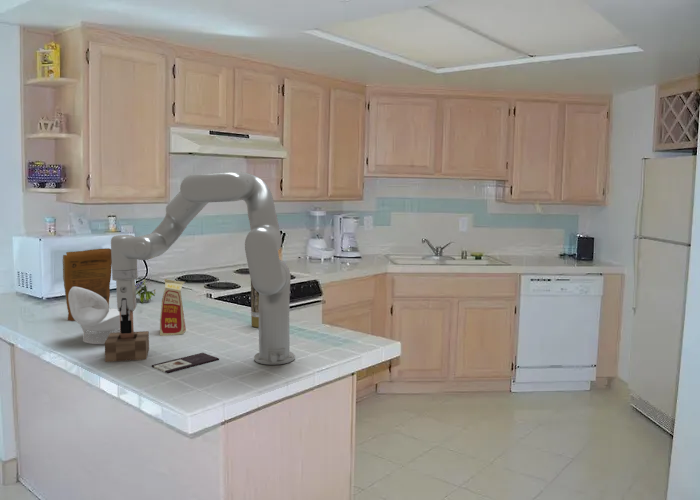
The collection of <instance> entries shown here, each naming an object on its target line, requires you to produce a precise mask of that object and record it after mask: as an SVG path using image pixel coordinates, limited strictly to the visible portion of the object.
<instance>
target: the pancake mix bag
mask: <svg viewBox="0 0 700 500" xmlns="http://www.w3.org/2000/svg"><path fill="white" fill-rule="evenodd" d="M65 253H66V254H63V255H62V279H63V287H64V293H65V301H66V303H65V304H66V307H67V313H68V314H67V321H69V322H70V321H71V322H76V321H75V320H74V318H73V316H72V314H71V311H70V307H69V300H68V294H69V291H70V289H71V288H72V287H80V288H84V289H87V290H90V291H93V292H95V293H97V294H99V295H100V296H102V297H103V298H104V299H105V300H106V301H107V303H108V305H109V306H110V296H111V294H110V293H111V291H110V289H111V287H110V286H111V279H112V258H111V248H109V247H108V248H107V247H106V248H94V249H93V248H91V249H86V250H75V251H67V252H65ZM77 292H78V291H77ZM79 292H80V291H79ZM79 292H78V293H79ZM84 293H85V292H84ZM86 293H87V292H86ZM81 294H82V293H81ZM81 294H79V295H81ZM83 295H85V294H83ZM93 296H94V295H93ZM82 297H83V296H82ZM95 297H96V296H95ZM84 298H85V297H84ZM88 298H90V297H88ZM78 299H79V298H78ZM82 299H83V298H82ZM86 299H87V298H86ZM86 299H83V300H85V301H86ZM90 300H91V299H90ZM90 300H89V301H90ZM92 300H93V299H92ZM94 300H95V299H94ZM94 300H93V301H94ZM85 301H84V302H85ZM95 301H96V300H95ZM96 302H97V301H96ZM98 302H99V301H98ZM100 302H101V300H100ZM81 303H82V302H81ZM103 303H104V302H103ZM92 305H93V303H92ZM94 305H95V304H94ZM96 306H99V304H98V303H97V305H96ZM86 307H87V306H86ZM89 307H90V305H89ZM91 307H92V308H93V307H94V308H95V306H91ZM101 307H102V306H101ZM104 307H105V306H104ZM83 308H85V307H83ZM96 308H97V307H96ZM96 308H95V309H96ZM78 311H79V310H78ZM85 312H86V311H85Z"/></svg>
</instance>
